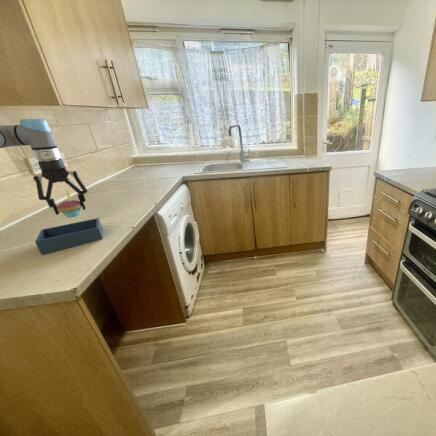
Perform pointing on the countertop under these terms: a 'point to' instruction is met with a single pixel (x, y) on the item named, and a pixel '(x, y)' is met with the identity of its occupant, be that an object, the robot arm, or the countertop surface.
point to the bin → (69, 235)
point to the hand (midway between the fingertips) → (71, 211)
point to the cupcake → (70, 207)
